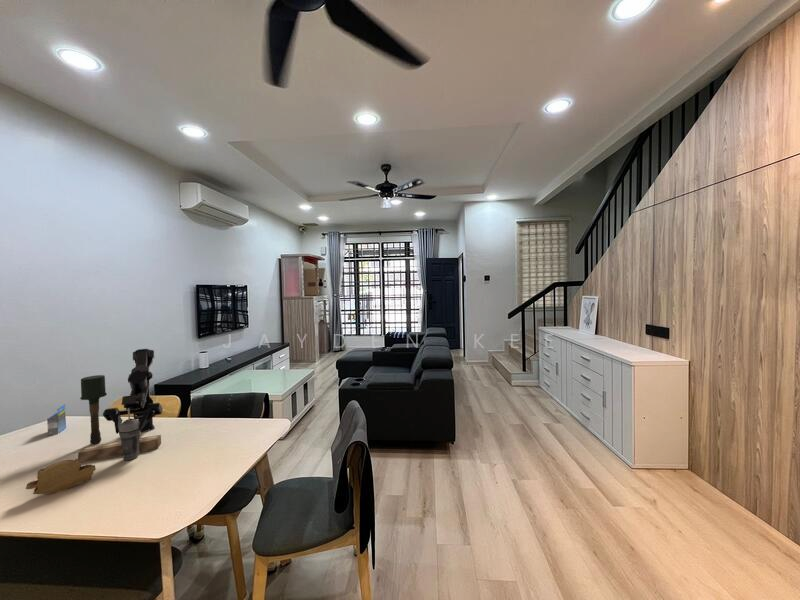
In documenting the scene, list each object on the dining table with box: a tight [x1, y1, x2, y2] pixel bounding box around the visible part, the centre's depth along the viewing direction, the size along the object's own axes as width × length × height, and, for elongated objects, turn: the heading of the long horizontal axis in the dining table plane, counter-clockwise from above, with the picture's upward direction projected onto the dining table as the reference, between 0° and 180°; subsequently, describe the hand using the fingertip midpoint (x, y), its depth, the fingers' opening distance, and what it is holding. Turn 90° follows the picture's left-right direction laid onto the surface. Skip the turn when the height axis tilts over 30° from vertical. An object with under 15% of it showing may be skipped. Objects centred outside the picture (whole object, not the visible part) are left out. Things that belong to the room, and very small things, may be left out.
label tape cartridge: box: [46, 403, 67, 436], centre depth 160 cm, size 9×4×12 cm, turn 28°
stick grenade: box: [79, 374, 108, 446], centre depth 145 cm, size 8×9×30 cm
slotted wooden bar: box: [77, 434, 162, 463], centre depth 136 cm, size 26×5×4 cm, turn 114°
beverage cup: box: [118, 408, 142, 461], centre depth 131 cm, size 7×7×20 cm
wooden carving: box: [25, 458, 97, 495], centre depth 110 cm, size 16×5×10 cm, turn 141°
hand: (128, 431), depth 129 cm, fingers closed on beverage cup, 7 cm apart
